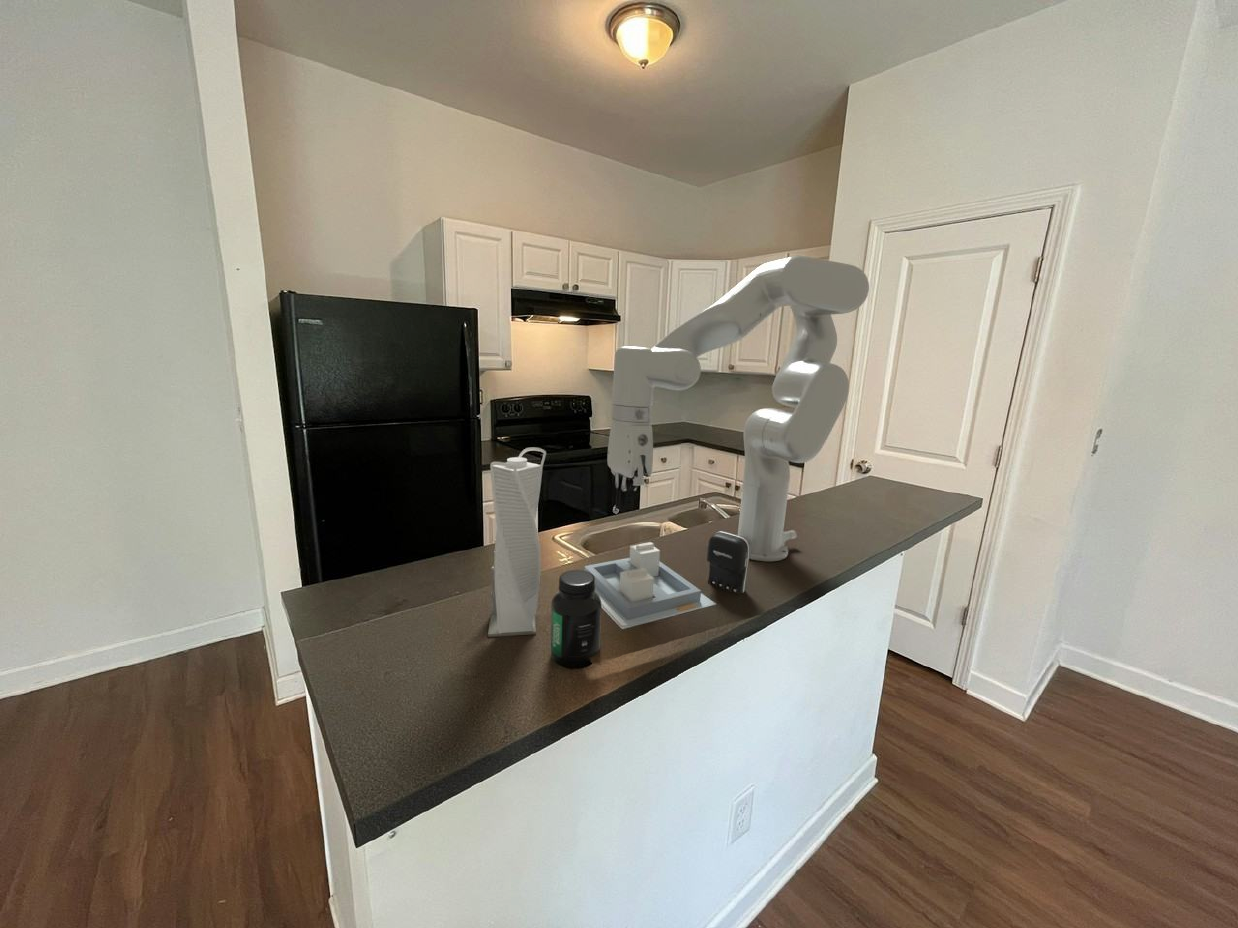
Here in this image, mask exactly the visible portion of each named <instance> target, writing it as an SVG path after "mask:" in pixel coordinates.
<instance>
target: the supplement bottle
mask: <svg viewBox="0 0 1238 928" xmlns="http://www.w3.org/2000/svg"><path fill="white" fill-rule="evenodd" d="M550 607H551V610H550V614H551V615H550V618H551V621H550V633H551V634H550V655H551V659H552V660H553V661H554V663H555V664H556V665H558V666H559V667H560V668H563V669H566V670H583V669H585V668H588V667H591V666H592V665H593V662H592V661H591V658H593V657H595V656H596V655H597V654H598V652H599V651H600V647H601V630H602V629H601V624H602V607H601V599H600V597H599V595H598V594H597V593H596V592H595V577H594V575H593V574H592V573H590V572H587V571H584V569H573V570H571V569H570V570H567V571H564V572H562V573H561V574H560V575H559V579H558V591H557V592H556V593H555V594H554V596H553V598H552V600H551V606H550Z"/></svg>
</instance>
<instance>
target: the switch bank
mask: <svg viewBox="0 0 1238 928" xmlns="http://www.w3.org/2000/svg"><path fill="white" fill-rule="evenodd" d="M629 560H630V557H627V558H626V557H625V558H622V559H621V558H620V559H615V560H614V559H613V560H610V561H605V562H600V563H594V564H593V563H592V564H588V565H584V567H583V568H584V569H583V570H584V571H587V572H590V573H592V574H593V575H594V577H595V592H596V593H597V594H598V595H599V597H600V599H601V610H603V611H604V612H605V613H606V614H607V615H608V616H609V617H610V618H611V619H612V620H613V621H614V623H616V625H617V626H618V627H619V628H620V629H621V630H626V629H629V628H632V627H636V626H640V625H643V624H648V623H651V622H655V621H659V620H663V619H666V618H671V617H674V616H677V615H682V614H684V613H685V614H686V613H689V612H692V611H696V610H700V609H704V608H708V607H711V606H715V605H717V603H716V602H714V601H713V600H711V599H710V598H708V597H707V596H706V595H705V594H704V593H702V590H701V589H699V587H696V586H695V585H694V584H692V582H689V581H688V580H687V579H685V578H684V577H683V576H681V575H680V574H679V573H677V572H675V571H674V570H673V569H671V567H669V566H667V565H665V563H663V562H662V561H660V560H659V572H658V576H655V577H653V578H654V585H653V598H651V599H647V600H643V601H639V602H634V603H631V602H629V601H628V600H627V599H626V598H625V597H624V596H623V595H622V594H621V593H620V592H619V589H620V572H625V571H630V570H635V569H636V568H635V567H633V566H632V565H631V564H630V563H629Z"/></svg>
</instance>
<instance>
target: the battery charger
mask: <svg viewBox="0 0 1238 928" xmlns="http://www.w3.org/2000/svg"><path fill="white" fill-rule="evenodd" d="M707 543H708V544H707V551H706V552H707V553H706V562H709V569H708V570H709V571H708V573H709V574H708V578H707V580H708V581H707V584H709V585H710V584H712V585H714V587H721V589H722V590H726V589H727V590H728V592H729V593H733V592H734V593H736V595H741V594H743V593H745V588H746V581H747V575H748V570H749V564H750V563H749V562H750V559H749V553H750V545H749V542H748V540H747V539H745V538H744V537H741V536H738V534H733V533H731V532H727V531H718V532H715V534H713V535H712V536H710V538H709V539H708V542H707Z"/></svg>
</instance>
